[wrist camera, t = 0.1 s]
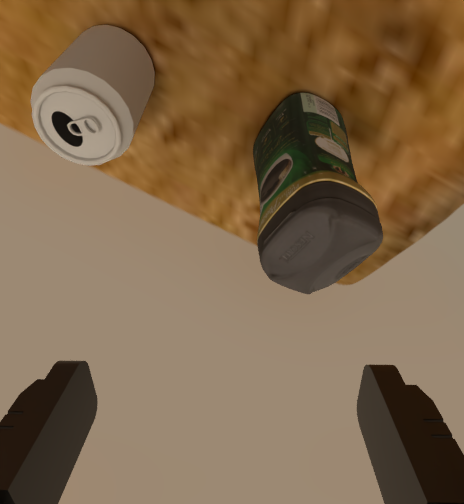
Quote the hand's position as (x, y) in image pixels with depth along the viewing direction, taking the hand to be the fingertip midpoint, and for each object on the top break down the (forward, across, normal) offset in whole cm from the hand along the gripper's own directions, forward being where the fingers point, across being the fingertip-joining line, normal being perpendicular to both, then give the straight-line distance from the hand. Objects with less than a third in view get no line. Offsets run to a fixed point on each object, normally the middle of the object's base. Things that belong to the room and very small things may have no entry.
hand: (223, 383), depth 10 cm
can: (+30, +12, -9) cm, 34 cm away
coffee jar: (+33, -6, -2) cm, 34 cm away
